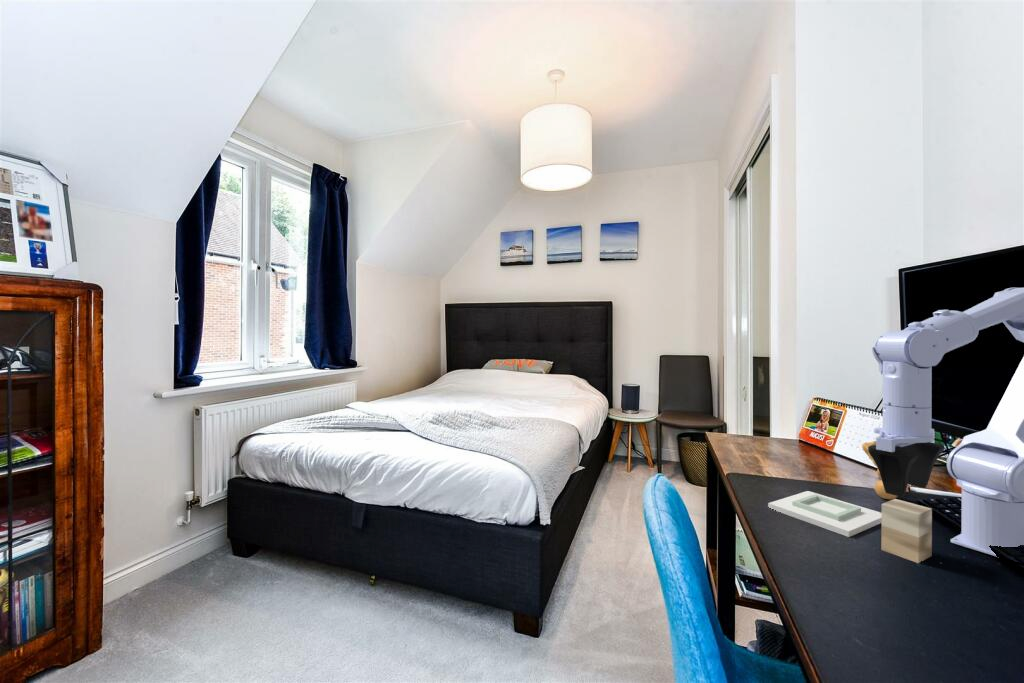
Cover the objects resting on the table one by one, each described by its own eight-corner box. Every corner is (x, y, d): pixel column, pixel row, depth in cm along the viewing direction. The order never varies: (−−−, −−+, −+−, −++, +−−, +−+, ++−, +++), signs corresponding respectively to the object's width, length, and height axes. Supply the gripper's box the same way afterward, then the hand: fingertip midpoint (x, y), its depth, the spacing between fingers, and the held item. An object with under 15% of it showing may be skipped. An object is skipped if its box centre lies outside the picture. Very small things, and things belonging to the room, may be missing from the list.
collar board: (807, 495, 92) (807, 487, 92) (888, 520, 80) (888, 510, 80) (768, 508, 86) (768, 499, 86) (848, 537, 73) (848, 526, 73)
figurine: (900, 507, 85) (900, 447, 85) (861, 499, 89) (861, 443, 89) (898, 495, 92) (898, 439, 91) (862, 488, 96) (862, 435, 95)
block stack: (894, 543, 71) (895, 498, 71) (931, 555, 67) (931, 508, 67) (881, 549, 69) (881, 504, 69) (918, 563, 65) (918, 514, 65)
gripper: (896, 398, 74) (896, 475, 75) (853, 405, 68) (852, 490, 68) (951, 404, 68) (951, 488, 68) (910, 412, 62) (909, 505, 62)
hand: (906, 490), depth 68 cm, fingers open, 7 cm apart
